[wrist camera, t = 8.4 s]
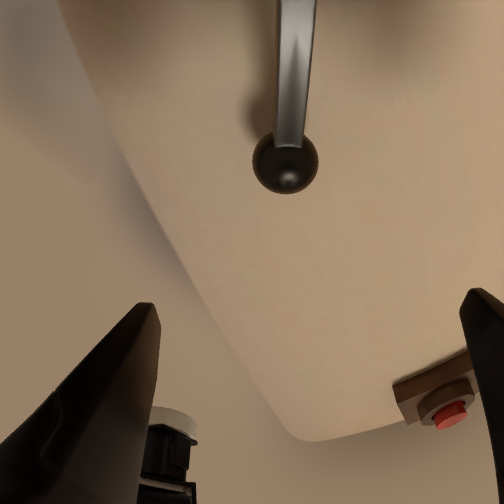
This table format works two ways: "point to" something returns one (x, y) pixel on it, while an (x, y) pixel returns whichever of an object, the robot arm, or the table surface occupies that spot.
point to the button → (450, 415)
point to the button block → (437, 390)
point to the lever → (289, 103)
